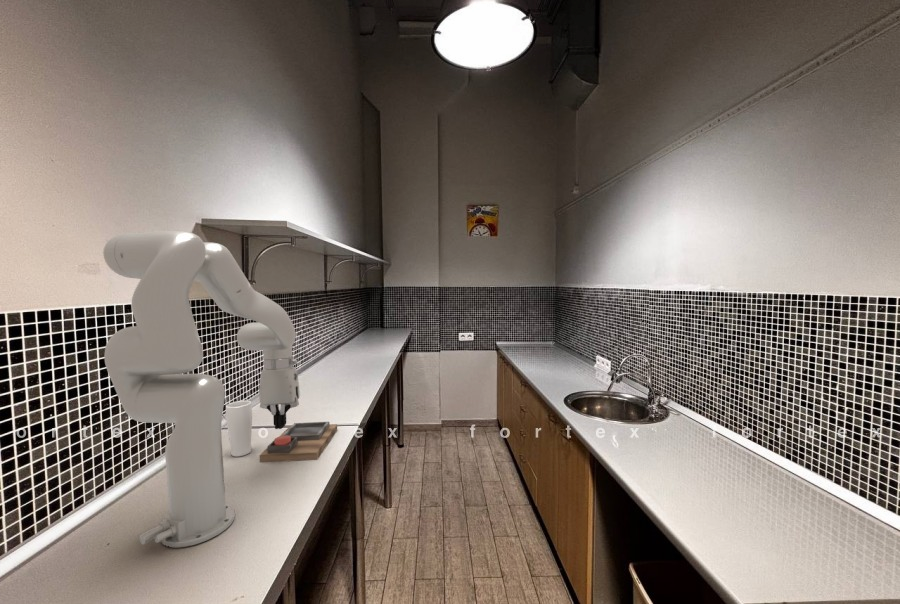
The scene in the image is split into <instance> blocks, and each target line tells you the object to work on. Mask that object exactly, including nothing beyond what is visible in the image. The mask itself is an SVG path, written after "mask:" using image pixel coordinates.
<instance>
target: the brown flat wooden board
mask: <svg viewBox="0 0 900 604" xmlns="http://www.w3.org/2000/svg"><path fill="white" fill-rule="evenodd" d="M337 432H338V424H335V423H334V424H330V421H317V422H316V421H313V422H311V421H310V422H294V423H293V424H292V425H290V426H289V427H288V428H286V429H285V430H284V431H283V432H282V433H281V434H280V435H279V436H285V435H288V436H291V443H290V444H289V445H278V446H275V443H274V440H273V441H272V442H271V443H270V444H269V445H267V447H266V448H265V449H264V450H263V451H262V452H261V453H260V454H259V455H258V456H259V457H258V458H259V463H273V462H292V461H293V462H294V461H295V462H296V461H312V460H314V461H315V460H316V461H317V460H318V459H319V458H320V456H321V455H322V454H323V452H324V451H325V449H326V447H328V445H329V443H330V442H331V440H332V439H333V437H334V436H335V434H336V433H337Z"/></svg>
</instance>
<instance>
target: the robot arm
mask: <svg viewBox="0 0 900 604" xmlns="http://www.w3.org/2000/svg"><path fill="white" fill-rule="evenodd" d="M103 259H104V262H105V263H106V265H107V266H108V268H110V270H112V271H113V272H114V273H116V274H118V275H119V276H122V277H125V278H128V279H129V278H130V279H138V280H139V279H140V280H139V282H138V284H137V285H136V287H135V289H134V292H133V294H132V298H131V309H132V310H131V311H132V314H133V317H134V322H135V326H134V325H133V326H128V327H125V328H122V329H119V330H118V331H116V332H115V333H114V334H113V335H111V336H110V338H109V339H108V340H107V343H106V344H105V348H104V356H103V357H104V364H105V367H106V370H107V373H108V375H109V378H110V380H111V382H112V386H113V387H114V390H115V392H116V394H117V397H118V399H119V402H120V403H121V406H122V408H123V410H124V411H125V414H126V415H127V416H128V417H130V418H131V419H132V420H134V421H136V422H139V423H148V424H149V423H152V424H153V423H154V424H156V423H157V424H158V423H159V424H161V423H162V424H164V423H165V424H166V423H167V424H174V425H175V426H174V428H173V430H172V433H171V434H170V436H169V437H168V439H167V441H166V445H165V449H164V450H165V451H164V453H165V455H164V456H165V468H166V469H165V470H166V483H167V499H168V501H167V502H168V513H165V514H164V515H163V516H162V517H163V521H160V522H159V523H158V525H157V526H155V527H154V528H151V529H148V530H146V531H144V532H142V533H140V534H139V542H140V543H141V545H145V544H147V543H150V542H151V541H153V540H154V542H155V543H156V544H159V543H162V545H164V546H165V545H166V546H165V547H168V546H169V548H187V547H191V546H195V545H198V544H201V543H204V542H207V541H209V540H210V539H213V538H214V537H217V536H218V535H220V534H222V533H223V532H225V530H227V529H228V528H229V527H230V526H231V525H232V524H233V522H234V521H235V516H236V515H235V509H234V508H233V506H230V505H227V504H226V493H225V492H226V491H225V490H226V489H225V488H226V487H225V472H224V471H225V470H224V458H223V457H224V456H223V441H222V439H223V436H222V434H223V433H222V419H223V412H224V406H225V399H226V389H225V386H224V384H223V382H222V381H221V380H220V379H219V378H217V377H215V376H213V375H210V374H204V373H189V372H192V371H194V370H195V369H197V368H198V367H199V366H201V365H200V364H202V362H203V358H204V351H203V346H202V342H201V338H200V336H199V333H198V329H197V326H196V323H195V319H194V316H193V315H194V314H193V312H192V308H191V304H190V291H191V287H192V284H193V282H197V283H198V282H199V283H200V285H201V286H202V287H203V288H204V290H205V291H206V292H207V293H208V294H209V296H210V297H211V298H212V300H213V301H214V303H215V304H216V305H217V307H218V308H219V309H220V310H221V311H223V312H225V313H227V314H229V315H233V316H237V317H239V318H244V319H246V320H247V319H248V320H251V321H255V322H248V323H246V324H244V325H242V326H241V327H240V328H239V329H238V331H237V334H236V342H237V344H238V345H239V346H240V348H242V349H244V350H246V351H247V350H248V351H263V369H261V374H260V379H259V389H258V393H259V394H258V396H259V400H258V401H259V403H260V404H259V408H260V409H265V410H267V411H269V412H270V413H271V416H273V426H274V429H275V430H282V429H283V428H284V427H286V424H287V412H288V411H290V409H292V408H296V407H298V406H299V404H300V402H299V399H300V396H301V393H300V385H299V377H298V372H297V368H296V367H295V366H294V365H297V364H298V360H297V359H294V357H293V345H294V344H295V341H296V336H297V335H296V334H297V333H296V329H295V326H294V323H293V321H292V319H291V318H290V316H289V314H288V313H287V312H286V310H285V309H284V308H283V307H282V306H281V305H279V304H278V303H277V302H275V301H273V300H272V299H271V298H269V297H268V296H265V295H264V294H262V293H261V292H258V291H256V290H255V289H254V288H253V287H252V285H251V284H250V282H249V280H248V278H247V277H246V275H245V273H244V272H243V270H242V269H241V267H240V265H239V264H238V262H237V261H236V259H235V258H234V256H233V254H232V253H231V252H230V250H229V249H228V248H227V247H226V246H224V245H223V244H220V243H216V242H212V241H211V242H204V241H203V239H202V238H201V237H200V236H199V235H198V234H196V233H193V232H189V231H181V230H161V231H160V230H158V231H144V232H128V233H127V232H125V233H119V234H117V235H115V236H112V237H110V239H109V240H108V241H107V242H106V243H105V245H104V248H103ZM279 405H280V406H279Z"/></svg>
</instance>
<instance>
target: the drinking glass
mask: <svg viewBox="0 0 900 604" xmlns="http://www.w3.org/2000/svg"><path fill="white" fill-rule="evenodd" d="M225 420H226V426H227V431H228V432H227V433H228V439H229V446H230V454H231V456H232V457H237V458H239V457H242V456H247V455H248V454H250V453H251V452H252V435H253V434H252V428H253V405H252V401H250V400H238V401H232V402H230V403H227V404H226V405H225Z"/></svg>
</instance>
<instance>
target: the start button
mask: <svg viewBox="0 0 900 604" xmlns="http://www.w3.org/2000/svg"><path fill="white" fill-rule="evenodd" d="M273 441H274V443H275V446H278V445H289V444H290V443H291V436H288V435H285V436H280V435H279V436H277V437H275V438H274V439H273Z"/></svg>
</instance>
